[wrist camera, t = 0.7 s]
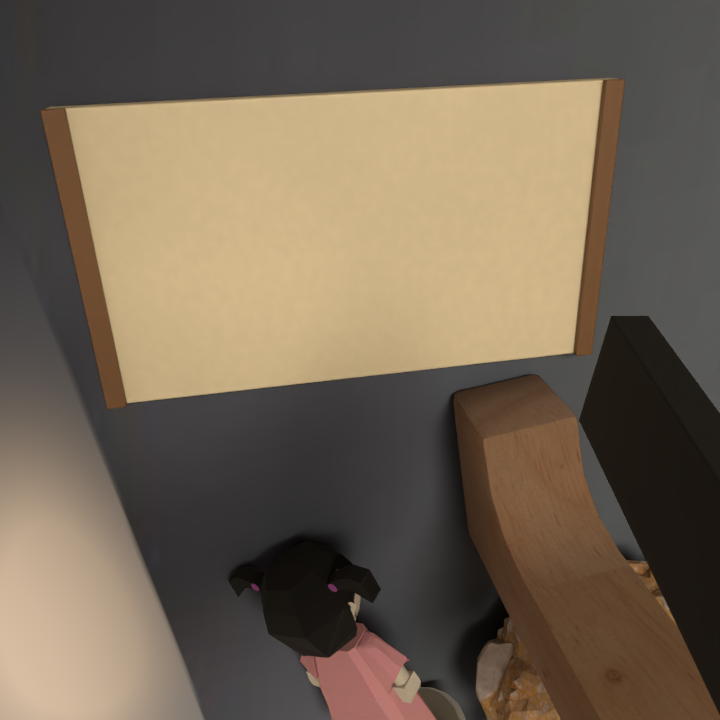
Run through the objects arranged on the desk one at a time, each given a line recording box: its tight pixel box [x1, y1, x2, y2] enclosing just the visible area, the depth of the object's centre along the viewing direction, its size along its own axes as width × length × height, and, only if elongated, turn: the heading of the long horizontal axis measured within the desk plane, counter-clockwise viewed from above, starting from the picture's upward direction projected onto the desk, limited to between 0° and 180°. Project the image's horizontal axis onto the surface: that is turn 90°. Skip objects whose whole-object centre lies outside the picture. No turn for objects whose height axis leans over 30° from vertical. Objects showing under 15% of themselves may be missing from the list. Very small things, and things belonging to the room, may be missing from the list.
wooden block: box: [453, 375, 720, 720], centre depth 27 cm, size 9×4×18 cm, turn 9°
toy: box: [229, 541, 466, 720], centre depth 36 cm, size 8×7×15 cm
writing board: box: [40, 78, 625, 409], centre depth 29 cm, size 12×22×1 cm, turn 92°
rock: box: [476, 560, 677, 720], centre depth 36 cm, size 14×12×15 cm
